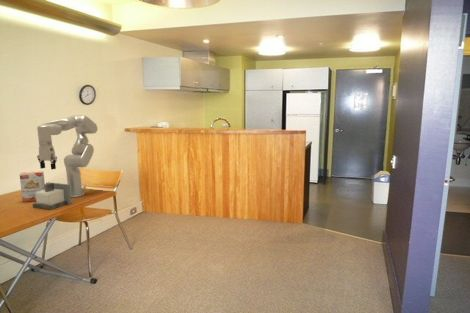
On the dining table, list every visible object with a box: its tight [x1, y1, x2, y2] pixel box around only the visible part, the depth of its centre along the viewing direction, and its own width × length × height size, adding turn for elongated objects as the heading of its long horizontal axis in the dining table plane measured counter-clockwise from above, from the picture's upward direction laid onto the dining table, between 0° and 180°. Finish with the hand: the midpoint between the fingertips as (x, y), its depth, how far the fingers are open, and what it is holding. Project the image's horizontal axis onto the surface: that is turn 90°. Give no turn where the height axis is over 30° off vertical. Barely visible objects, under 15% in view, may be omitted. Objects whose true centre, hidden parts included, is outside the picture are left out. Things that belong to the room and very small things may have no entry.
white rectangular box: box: [35, 182, 65, 205], centre depth 221 cm, size 12×13×13 cm
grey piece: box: [32, 182, 72, 211], centre depth 222 cm, size 15×20×14 cm
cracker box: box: [19, 170, 46, 203], centre depth 234 cm, size 14×6×21 cm, turn 108°
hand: (48, 168), depth 219 cm, fingers open, 9 cm apart
